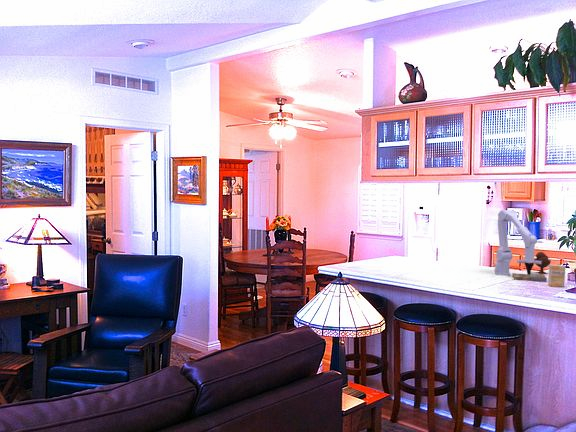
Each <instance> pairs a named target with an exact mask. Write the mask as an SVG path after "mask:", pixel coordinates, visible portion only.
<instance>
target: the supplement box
mask: <svg viewBox="0 0 576 432" xmlns="http://www.w3.org/2000/svg"><path fill="white" fill-rule="evenodd" d="M565 276H566V265H563V264H551V263H550V264H549V265H548V279H547V280H548V281H547V285H548V286H549V287H556V288H561V287H562V288H565V282H566V281H565V280H566V277H565Z"/></svg>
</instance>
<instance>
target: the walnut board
mask: <svg viewBox="0 0 576 432" xmlns="http://www.w3.org/2000/svg"><path fill="white" fill-rule="evenodd" d="M511 277H512V278H514V279H513V280H514V281H526V282H527V281H528V282H529V281H530V282H532V281H531V277H530V276H529V275H528V274H527V273H512V274H511Z"/></svg>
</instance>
